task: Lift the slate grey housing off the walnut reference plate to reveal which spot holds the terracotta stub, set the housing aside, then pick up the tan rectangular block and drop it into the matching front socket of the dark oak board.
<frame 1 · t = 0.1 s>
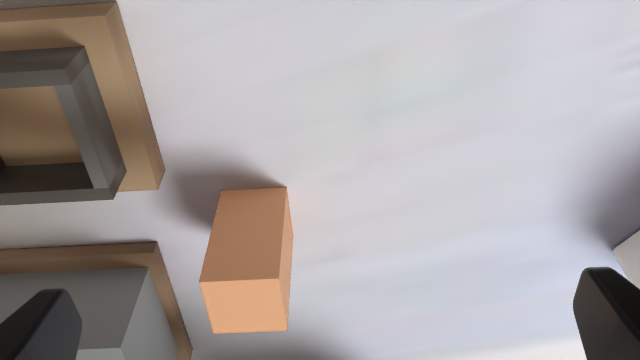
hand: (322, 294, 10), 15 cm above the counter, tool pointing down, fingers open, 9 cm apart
tan rectangular block: (258, 214, 28), on the counter
reference plate: (64, 305, 32), on the counter
housing: (59, 316, 31), point 1 cm above the counter, touching reference plate
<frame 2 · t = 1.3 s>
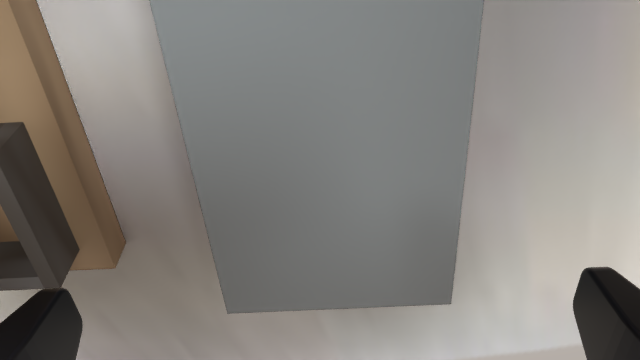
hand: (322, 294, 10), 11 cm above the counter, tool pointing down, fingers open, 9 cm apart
housing: (325, 63, 18), point 1 cm above the counter, touching reference plate
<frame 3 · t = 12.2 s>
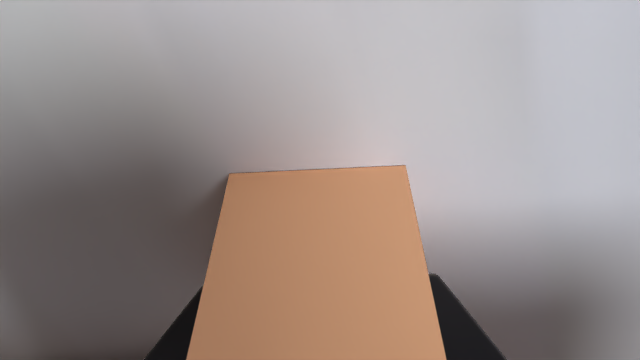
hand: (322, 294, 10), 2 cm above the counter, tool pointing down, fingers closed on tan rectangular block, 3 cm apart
tan rectangular block: (321, 235, 11), on the counter, touching gripper
when the fingers open (4 cm above the counter, at t = 16.0 s): tan rectangular block stays where it is, resting on socket board.
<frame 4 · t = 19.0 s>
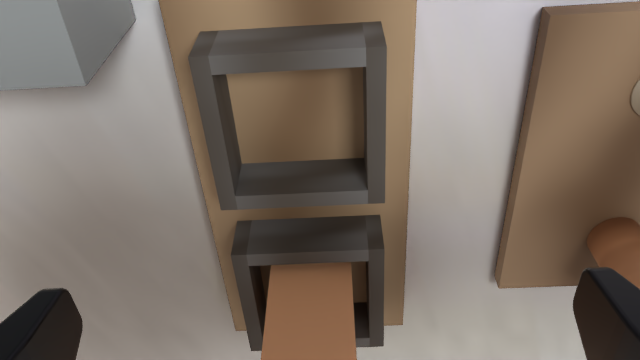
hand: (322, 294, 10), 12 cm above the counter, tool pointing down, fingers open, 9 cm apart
tan rectangular block: (313, 267, 24), point 1 cm above the counter, touching socket board
reference plate: (626, 159, 22), on the counter
socket board: (307, 174, 23), on the counter
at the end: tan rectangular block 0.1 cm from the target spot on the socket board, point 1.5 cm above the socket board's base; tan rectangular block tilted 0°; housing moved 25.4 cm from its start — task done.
